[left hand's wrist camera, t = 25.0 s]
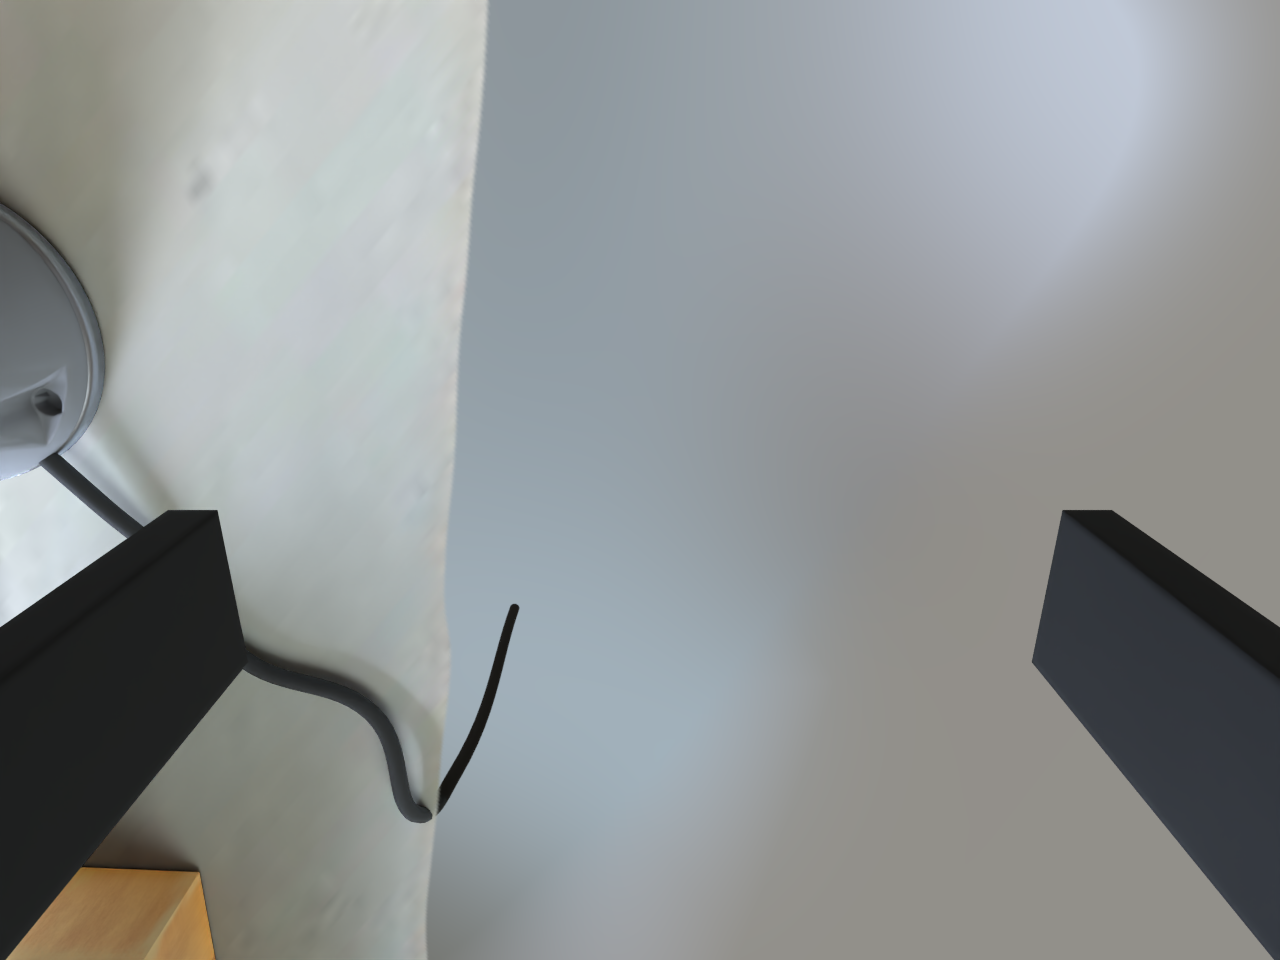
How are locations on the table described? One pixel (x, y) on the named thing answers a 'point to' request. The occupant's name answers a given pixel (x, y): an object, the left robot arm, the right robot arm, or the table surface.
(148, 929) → the bread
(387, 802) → the table surface
